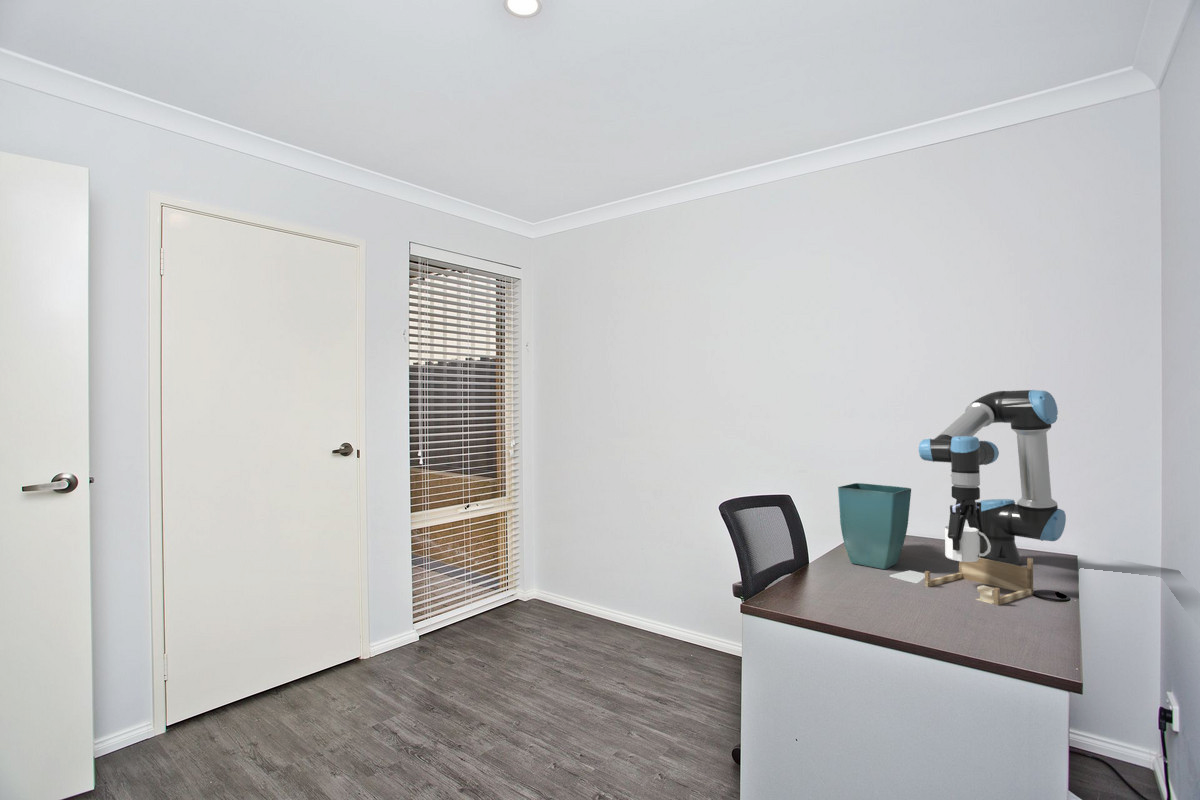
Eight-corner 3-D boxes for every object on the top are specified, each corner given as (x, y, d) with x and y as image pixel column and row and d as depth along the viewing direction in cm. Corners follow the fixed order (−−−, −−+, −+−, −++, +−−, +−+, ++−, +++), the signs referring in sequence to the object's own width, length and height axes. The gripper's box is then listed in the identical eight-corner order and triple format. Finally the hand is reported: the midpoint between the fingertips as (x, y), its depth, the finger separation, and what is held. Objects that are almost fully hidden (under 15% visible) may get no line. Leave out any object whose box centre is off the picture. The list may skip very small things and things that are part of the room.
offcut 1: (977, 591, 173) (977, 586, 173) (983, 590, 175) (983, 585, 175) (992, 595, 170) (991, 590, 170) (997, 594, 171) (997, 588, 171)
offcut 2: (981, 597, 175) (981, 590, 175) (997, 599, 172) (997, 592, 172) (979, 600, 172) (979, 593, 172) (996, 603, 169) (996, 596, 169)
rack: (961, 581, 196) (960, 544, 196) (1033, 598, 178) (1033, 558, 178) (924, 590, 185) (924, 552, 186) (997, 610, 167) (997, 567, 168)
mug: (943, 559, 184) (942, 529, 184) (947, 553, 191) (947, 524, 191) (989, 565, 176) (988, 534, 176) (991, 558, 183) (991, 528, 184)
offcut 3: (984, 603, 175) (984, 596, 175) (1001, 607, 171) (1001, 600, 171) (975, 605, 173) (975, 599, 173) (992, 610, 169) (991, 603, 169)
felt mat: (910, 571, 207) (910, 570, 207) (945, 580, 197) (945, 578, 197) (889, 576, 201) (889, 574, 201) (924, 585, 191) (924, 583, 191)
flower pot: (912, 563, 218) (912, 487, 219) (895, 574, 204) (895, 492, 204) (856, 554, 232) (856, 482, 232) (837, 564, 217) (837, 487, 218)
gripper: (971, 481, 192) (972, 551, 192) (933, 487, 181) (934, 560, 181) (996, 484, 186) (997, 556, 186) (958, 490, 175) (960, 566, 174)
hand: (966, 558), depth 183 cm, fingers closed on mug, 9 cm apart
